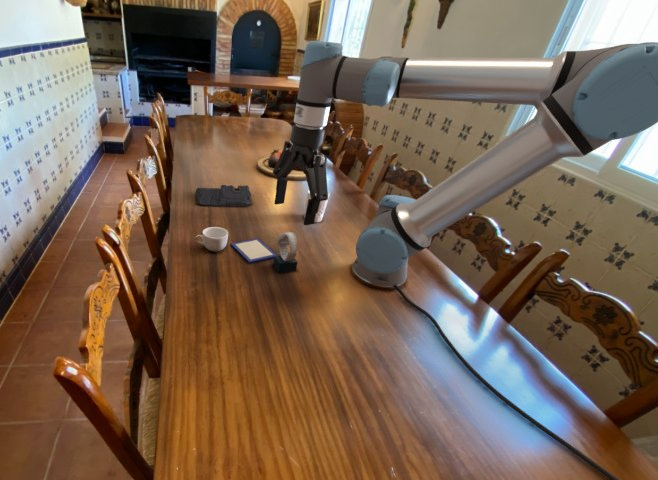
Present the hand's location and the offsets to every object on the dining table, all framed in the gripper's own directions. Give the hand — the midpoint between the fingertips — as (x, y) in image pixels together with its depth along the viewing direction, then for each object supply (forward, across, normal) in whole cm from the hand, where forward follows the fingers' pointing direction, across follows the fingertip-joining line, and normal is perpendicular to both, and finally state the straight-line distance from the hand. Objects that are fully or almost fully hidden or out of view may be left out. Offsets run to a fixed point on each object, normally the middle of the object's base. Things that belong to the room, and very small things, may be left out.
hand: (293, 213), depth 95 cm
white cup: (+17, -25, +30) cm, 43 cm away
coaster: (+17, -12, -3) cm, 21 cm away
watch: (+17, 0, 0) cm, 17 cm away
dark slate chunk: (+17, -53, +6) cm, 56 cm away
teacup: (+17, -18, -15) cm, 29 cm away
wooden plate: (+17, -76, +54) cm, 95 cm away
